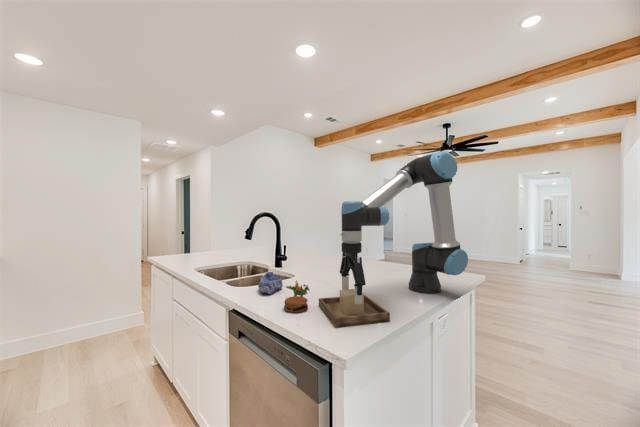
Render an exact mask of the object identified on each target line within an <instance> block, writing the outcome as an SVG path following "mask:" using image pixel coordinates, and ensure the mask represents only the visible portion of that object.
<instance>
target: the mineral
mask: <svg viewBox="0 0 640 427" xmlns="http://www.w3.org/2000/svg"><path fill="white" fill-rule="evenodd" d="M257 285H258V286H257V287H258V291H260V292H261V293H262V294H269V295H271V294H274V293H275V292H277V291H278V290H280V291H281V290H283V286H284V285H283V280H282V278H281V277H278V276H276V275H274V272H273V271H267V272H266V273H264V275H262V276H260V278H259V283H258V284H257Z"/></svg>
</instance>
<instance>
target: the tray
mask: <svg viewBox="0 0 640 427" xmlns="http://www.w3.org/2000/svg"><path fill="white" fill-rule="evenodd" d="M318 307H319V308H320V310H321V311H322V312H323V313H324V315H325V316H326V317H327V319H328V321H330V323H331V324H332V325H333V327H334V328H335V329H338V328H345V327H355V326H364V325H371V324H380V323H390V322H391V313H390V312H389V311H388V310H386V309H385V308H384V307H382V306H381V305H379V304H378V303H376V302H375V301H374V300H372V299H371V298H369V297H368V296H367V295H365V294H364V313H358V314H348V315H346V314H345V313H344V312H343V311H342V310H341V309H340V296H332V297H321V298H318Z"/></svg>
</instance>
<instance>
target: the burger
mask: <svg viewBox="0 0 640 427" xmlns="http://www.w3.org/2000/svg"><path fill="white" fill-rule="evenodd" d="M300 296H301V295H297V296H294V295H293V296H289V297H287V298H286V299H285V300H284V305H283V309H284V311H285V312H287V311H288V313H289V312H290V313H301V312H305V311H307V310H309V306H308V299H307V298H306V297H304V296H303V297H302V296H301V297H300Z"/></svg>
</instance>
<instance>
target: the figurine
mask: <svg viewBox="0 0 640 427" xmlns="http://www.w3.org/2000/svg"><path fill="white" fill-rule="evenodd" d="M303 287H304V288H303ZM285 288H287V289H289V290H292V291H293V297H294V296H300V297H304V296H306V295H308V294H309V293H308V292H310V287H309V286H308V285H306V284H305V283H303V284H299V283H298V280H295V284H294V285H293V286H292V285H287V286H285Z"/></svg>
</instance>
